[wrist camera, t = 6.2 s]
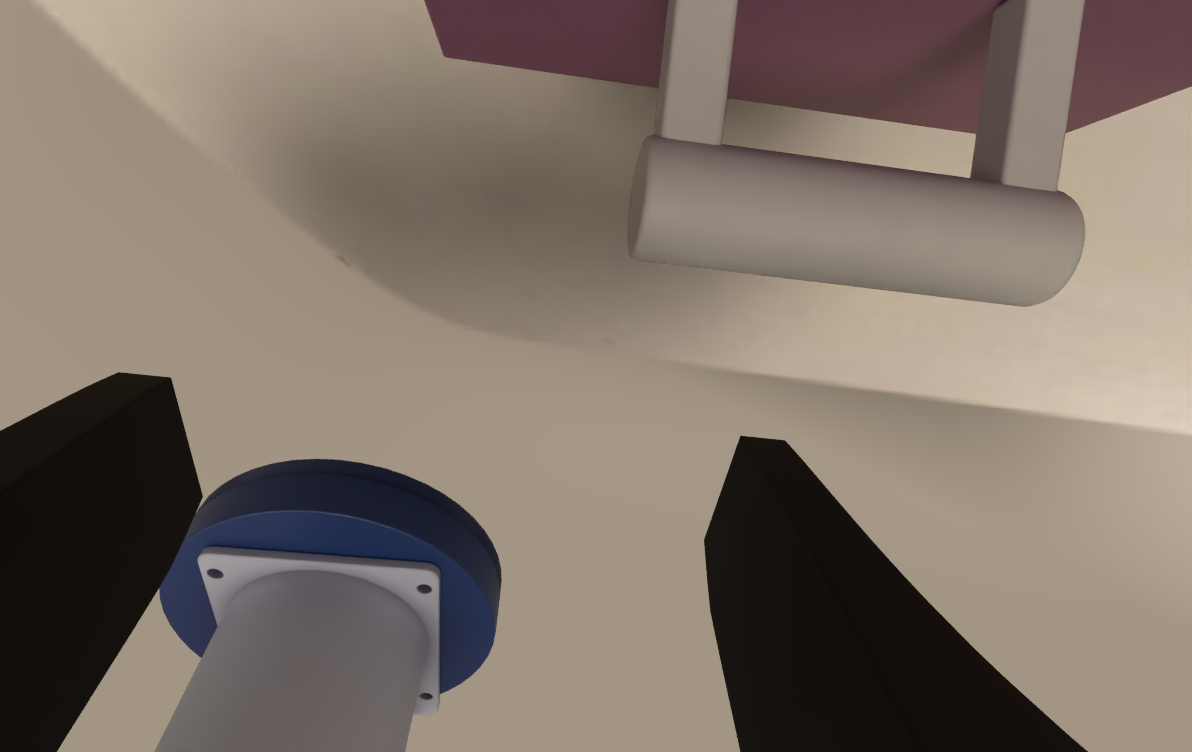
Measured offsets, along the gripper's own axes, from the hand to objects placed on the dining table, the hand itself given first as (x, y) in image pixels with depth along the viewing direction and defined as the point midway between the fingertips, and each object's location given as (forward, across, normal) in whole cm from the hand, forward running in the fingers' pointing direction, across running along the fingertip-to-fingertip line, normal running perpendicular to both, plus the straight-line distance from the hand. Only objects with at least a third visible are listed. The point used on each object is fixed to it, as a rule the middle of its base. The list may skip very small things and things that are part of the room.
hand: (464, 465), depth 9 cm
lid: (+1, -4, -8) cm, 9 cm away
